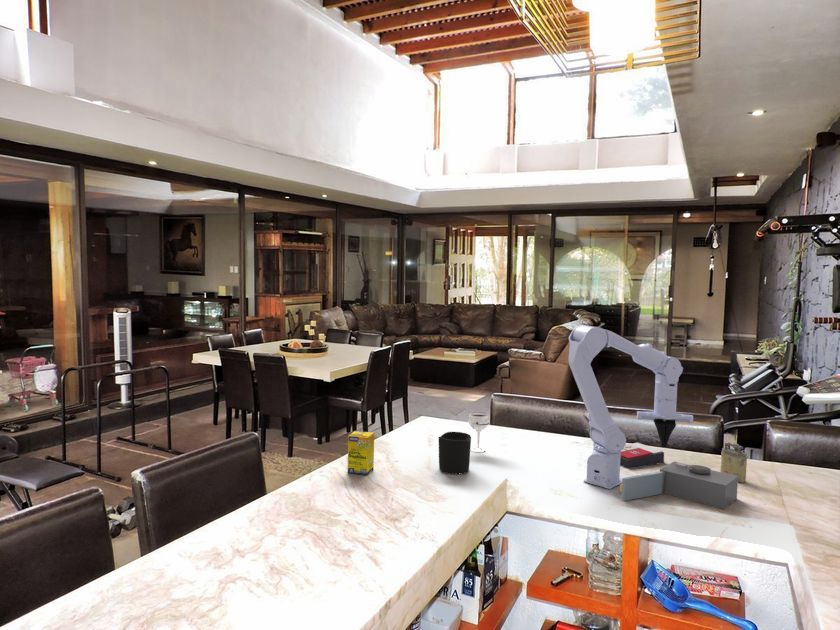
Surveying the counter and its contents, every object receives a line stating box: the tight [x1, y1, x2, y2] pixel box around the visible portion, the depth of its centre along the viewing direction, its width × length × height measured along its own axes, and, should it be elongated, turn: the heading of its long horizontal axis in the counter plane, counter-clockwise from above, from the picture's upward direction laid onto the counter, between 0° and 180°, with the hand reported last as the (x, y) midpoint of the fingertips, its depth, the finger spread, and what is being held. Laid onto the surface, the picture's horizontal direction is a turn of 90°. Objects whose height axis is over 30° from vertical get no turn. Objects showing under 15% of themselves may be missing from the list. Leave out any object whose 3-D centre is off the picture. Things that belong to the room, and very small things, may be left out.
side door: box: [619, 470, 665, 501], centre depth 146 cm, size 2×14×6 cm, turn 115°
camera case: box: [659, 461, 739, 510], centre depth 148 cm, size 10×16×7 cm, turn 46°
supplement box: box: [347, 430, 375, 476], centre depth 161 cm, size 6×6×11 cm
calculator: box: [620, 442, 665, 469], centre depth 177 cm, size 11×4×15 cm
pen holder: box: [438, 431, 472, 475], centre depth 165 cm, size 9×9×10 cm
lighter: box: [719, 442, 748, 484], centre depth 161 cm, size 7×4×10 cm, turn 28°
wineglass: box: [468, 411, 490, 451], centre depth 184 cm, size 7×7×12 cm
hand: (663, 446), depth 160 cm, fingers closed
